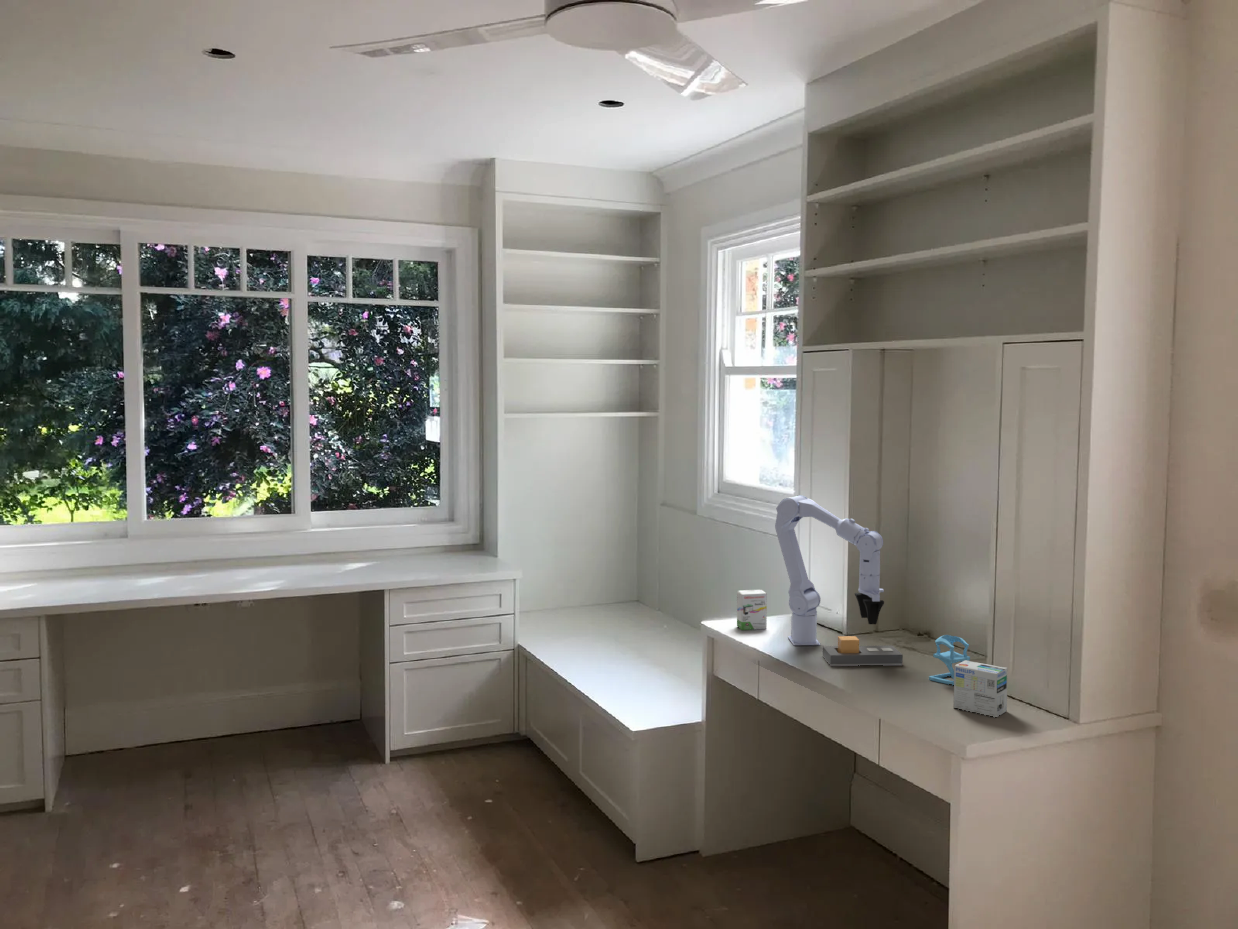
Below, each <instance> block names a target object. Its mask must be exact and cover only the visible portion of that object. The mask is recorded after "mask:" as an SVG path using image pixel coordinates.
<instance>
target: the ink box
mask: <svg viewBox="0 0 1238 929" xmlns="http://www.w3.org/2000/svg"><path fill="white" fill-rule="evenodd" d="M767 595H768V594H767V592H765V591H764V590H763V589H745V590H743V589H742V590H740V589H739V590H737V591H736V627H737V626H738V627H739V628H740V630H741V631H749V630H752V629H754V630H766V629H768V628H767V621H768V620H767V618H768V617H767V616H768V614H767V613H768V612H767V611H768V609H767V607H768V606H767V604H768V603H767V602H768V596H767ZM738 627H737V628H738ZM739 628H738V629H739Z"/></svg>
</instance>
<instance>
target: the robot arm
mask: <svg viewBox="0 0 1238 929" xmlns="http://www.w3.org/2000/svg"><path fill="white" fill-rule="evenodd" d="M776 513H777V514H776V518H775V524H774V528H775V532H776V536H777V540H778V543H779V547H780V550H781V554H782V557H783V561H784V564H785V568H786V571H787V575H788V578H789V582H790V585H789V588H788V595H789V600H788V606H789V609H790V610H791V613H792V614H791V617H790V618H791V619H790V635H787V639H788V640H789V641H790V642H791V643H792V645H793V646H821V643H820V641H819V640H818V639H817V633H818V632H817V629H818V627H817V626H818V624H817V622H818V614H817V613H818V611H817V610H818V609H817V608H819V606H820V604H821V596H820V593H819V591H817V589H816V588H815V585H814V583H813V582H812V581H811V580H810V579H809V578H808V573H807V570H806V566H805V563H804V559H803V556H802V552H801V549H800V545H799V542H798V538H797V534H796V531H795V527H796V526H798V525H797V524H798V523H799V522H800V520H802V519H803V518H814V519H815V520H818V521H819V522H821V523H823V524H825V525H827V526H829V527H830V528H833V529H834V530H835V532H836V533H835V534H836V535H837V536H839V537H840V538H841V539H843V540H845V541H847V542H849V543H850V544H852V545H854V546H855V547H856V549H857V551H859V566H858V567H859V570H858V572H859V573H858V574H859V575H858V576H859V577H858V589H857V591H858V592H855V593H854V596H855V598H856V600H857V603H858V607H859V608H858V609H859V614H860V617H861V618H862V619H866V620H867V624H868V625H876V624H878V620H879V615H880V612H881V609H882V607H883V606H884V604H885V601H884V600H880V599H881V593H884V592H885V591H884V588H880V587H881V586H880V585H881V584H880V581H881V579H880V578H881V549H882V547H883V546H884V539H883V536H882V535H881V534H880V533H879V532H878V531H877V530H870V528H868V527H864V526H861V525H860V524H858V523H856V520H855V519H853V518H843V519H841V518H840V517H838V516H837V515H835V514H834V513H832V512H830V511H829V510H827V509H826V507H825V508H824V507H823V506H821V505H820V504H818V503H817V502H816V501H815V500H813V499H811V498H808V497H807V496H805V495H803V494H799V495H796V496H791V497H785V498H783V499H782V500H781V501H780V502H779V503H778V505H777V506H776Z"/></svg>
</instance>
